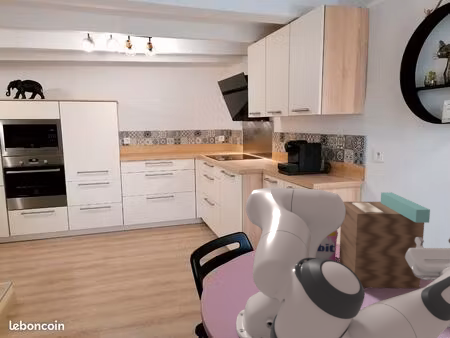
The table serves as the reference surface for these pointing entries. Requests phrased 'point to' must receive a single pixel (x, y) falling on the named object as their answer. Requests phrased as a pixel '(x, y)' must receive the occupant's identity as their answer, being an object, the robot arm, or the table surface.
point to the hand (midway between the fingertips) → (434, 238)
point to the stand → (378, 245)
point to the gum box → (328, 247)
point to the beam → (406, 207)
